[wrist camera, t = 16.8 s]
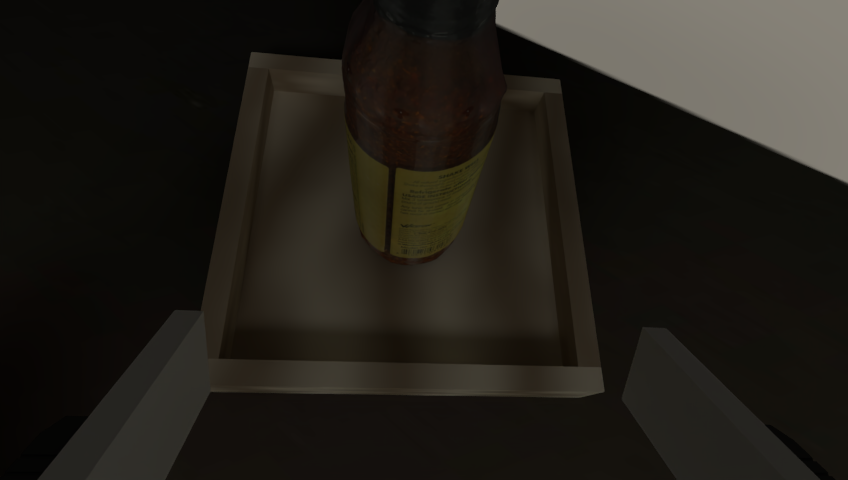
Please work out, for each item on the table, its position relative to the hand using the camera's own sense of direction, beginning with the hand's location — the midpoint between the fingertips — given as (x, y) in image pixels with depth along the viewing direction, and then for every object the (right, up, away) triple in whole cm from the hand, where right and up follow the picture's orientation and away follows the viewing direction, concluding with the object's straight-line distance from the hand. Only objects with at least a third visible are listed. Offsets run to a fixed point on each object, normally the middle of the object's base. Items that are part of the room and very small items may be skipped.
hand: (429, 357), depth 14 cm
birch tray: (-1, +4, +15) cm, 16 cm away
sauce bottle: (-1, +5, +14) cm, 15 cm away
